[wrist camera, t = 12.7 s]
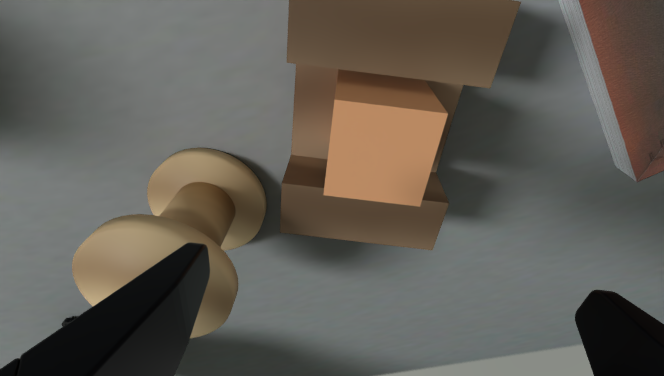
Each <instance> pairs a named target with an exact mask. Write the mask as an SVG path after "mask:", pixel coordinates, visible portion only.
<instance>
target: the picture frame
mask: <svg viewBox="0 0 664 376" xmlns="http://www.w3.org/2000/svg"><path fill="white" fill-rule="evenodd" d="M558 1H559V4H560V7H561V9H562V12H563V15H564V18H565V21H566V24H567V27H568V30H569V33H570V36H571V38H572V41H573V44H574V47H575V50H576V53H577V56H578V59H579V62H580V65H581V68H582V70H583V73H584V76H585V79H586V82H587V85H588V88H589V91H590V94H591V97H592V99H593V102H594V105H595V108H596V111H597V114H598V117H599V120H600V123H601V126H602V128H603V131H604V134H605V137H606V140H607V143H608V146H609V149H610V152H611V155H612V157H613V160H614V163H615V166H616V167H617V168H618V169H620V170H621V171H622V172H624V173H625V174H627V175H628V176H629V177H631V178H632V179H633V180H635V181H636V182H639V181H641V180H643V179H646V178H648V177H650V176H652V175H655V174H657V173H659V172H662V171H664V0H558Z"/></svg>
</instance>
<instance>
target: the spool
mask: <svg viewBox="0 0 664 376" xmlns="http://www.w3.org/2000/svg"><path fill="white" fill-rule="evenodd" d="M147 196H148V202H149V205H150V208H151V210H152V213H153V214H154V215H144V214H137V215H126V216H121V217H117V218H114V219H112V220H109V221H107V222H105V223H104V224H102V225H101V226H100V227H98V228H97V229H96V230H95V231H94V232H93V233H92V234H91V235H90V236H89V237H88V238H87V239H86V240H85V241H84V242H83V243H82V245H81V246H80V247H79V248H78V249H77V251H76V253H75V255H74V258H73V262H72V271H73V276H74V280H75V282H76V284H77V287H78V289H79V290H80V292H81V293H82V295H83V296H84V297H85V298H86V300H87V301H88V302H89V303H90V304H91V305H92V306H94V305H96V304H97V303H99V302H100V301H102V300H103V299H105V298H106V297H108V296H109V295H111V294H112V293H114V292H115V291H117V290H118V289H120V288H121V287H122V286H124V285H125V284H127V283H128V282H130V281H131V280H133V279H134V278H136V277H137V276H139V275H140V274H142V273H143V272H145V271H146V270H148V269H149V268H150V267H152V266H153V265H155V264H156V263H158V262H159V261H161V260H162V259H164V258H165V257H167V256H168V255H170V254H171V253H173V252H174V251H176V250H177V249H179V248H180V247H181V246H183V245H184V244H186V243H189V242H193V243H202V244H205V245H207V248H208V254H209V263H210V277H209V281H208V284H207V287H206V290H205V293H204V296H203V299H202V302H201V306H200V309H199V312H198V315H197V318H196V321H195V324H194V327H193V330H192V333H191V336H190V338H195V337H200V336H203V335H206V334H209V333H211V332H213V331H215V330H216V329H218V328H219V327H220V326H221V325H222V324H223V323H224V322H225V321H226V320H227V318H228V316H229V314H230V312H231V309H232V307H233V304H234V301H235V298H236V295H237V291H238V277H237V273H236V270H235V268H234V266H233V264H232V262H231V260H230V259H229V257H228V256H227V254H226V253H225V252H224V251H223V250H231V249H234V248H238V247H240V246H243V245H244V244H246V243H248V242H249V241H250V240H252V239H253V238H254V237H255V236H256V234H257V233H258V231H259V229H260V227H261V225H262V222H263V219H264V217H265V213H266V207H267V201H266V195H265V191H264V189H263V186H262V184H261V182H260V181H259V179H258V178H257V176H256V175H255V174H254V173H253V172H252V170H251V169H250V168H249V167H247V166H246V165H245V164H244V163H242V162H241V161H240V160H238V159H236V158H235V157H233V156H231V155H229V154H226V153H224V152H221V151H218V150H214V149H208V148H190V149H185V150H182V151H179V152H177V153H175V154H173V155H171V156H170V157H169V158H167V159H166V160H165V161H164V162H163V163H162V164H161V165H160V166H159V167H158V168H157V169H156V170H155V171H154V173H153V174H152V176H151V178H150V180H149V184H148V189H147Z"/></svg>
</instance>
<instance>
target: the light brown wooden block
mask: <svg viewBox="0 0 664 376" xmlns="http://www.w3.org/2000/svg"><path fill="white" fill-rule="evenodd" d="M447 116H448V113H447V111H446V110H445V108H444V107H443V106H442V104H441V103H440V101H439V100H438V98H437V97H436V96H435V94H434V93H433V91H432V90H431V88H430V87H429V86H428V84H427V83H426V81H425V80H420V79H412V78H405V77H397V76H389V75H381V74H373V73H365V72H357V71H349V70H341V69H338V77H337V84H336V92H335V100H334V109H333V117H332V126H331V134H330V143H329V151H328V160H327V168H326V177H325V185H324V194H323V195H326V196H334V197H343V198H351V199H360V200H368V201H377V202H385V203H393V204H402V205H410V206H419V207H420V205H421V202H422V198H423V195H424V192H425V188H426V185H427V182H428V179H429V175H430V172H431V169H432V165H433V162H434V159H435V155H436V152H437V149H438V145H439V142H440V139H441V136H442V132H443V129H444V126H445V122H446V119H447Z"/></svg>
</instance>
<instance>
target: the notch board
mask: <svg viewBox="0 0 664 376" xmlns="http://www.w3.org/2000/svg"><path fill="white" fill-rule="evenodd" d="M520 3H521V2H519V1H512V0H289V18H288V43H287V63H294V64H296V76H295V94H294V112H293V131H292V149H291V157H290V160H289V163H288V166H287V169H286V172H285V175H284V178H283V181H282V192H281V216H280V233H289V234H298V235H306V236H315V237H323V238H332V239H340V240H349V241H357V242H366V243H374V244H383V245H392V246H400V247H409V248H417V249H426V250H433V247H434V245H435V242H436V239H437V236H438V233H439V231H440V228H441V225H442V222H443V219H444V216H445V214H446V211H447V208H448V205H449V202H448V199H447V197H446V195H445V192H444V190H443V188H442V185H441V183H440V181H439V178H438V176H437V174H436V171H437V168H438V164H439V161H440V158H441V155H442V152H443V148H444V145H445V142H446V139H447V136H448V132H449V129H450V126H451V123H452V120H453V117H454V113H455V110H456V107H457V104H458V101H459V97H460V94H461V91H462V88H463V85H468V86H476V87H483V88H491V85H492V82H493V79H494V76H495V74H496V71H497V68H498V65H499V62H500V60H501V57H502V54H503V51H504V48H505V45H506V43H507V40H508V37H509V34H510V31H511V29H512V26H513V23H514V20H515V17H516V15H517V12H518V9H519V6H520ZM338 69H341V70H349V71H357V72H365V73H373V74H381V75H389V76H397V77H405V78H412V79H420V80H425V81H426V83H427V84H428V86H429V87H430V88H431V90H432V91H433V93H434V94H435V96H436V97H437V98H438V100H439V101H440V103H441V104H442V106H443V107H444V108H445V110H446V111H447V113H448V116H447V119H446V122H445V126H444V129H443V132H442V136H441V139H440V142H439V145H438V149H437V152H436V155H435V159H434V162H433V165H432V169H431V172H430V175H429V179H428V182H427V185H426V188H425V192H424V195H423V198H422V202H421V205H420V207H419V206H410V205H402V204H393V203H385V202H377V201H368V200H360V199H351V198H343V197H334V196H326V195H323V194H324V185H325V177H326V168H327V160H328V151H329V143H330V134H331V126H332V117H333V109H334V100H335V92H336V84H337V77H338Z"/></svg>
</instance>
